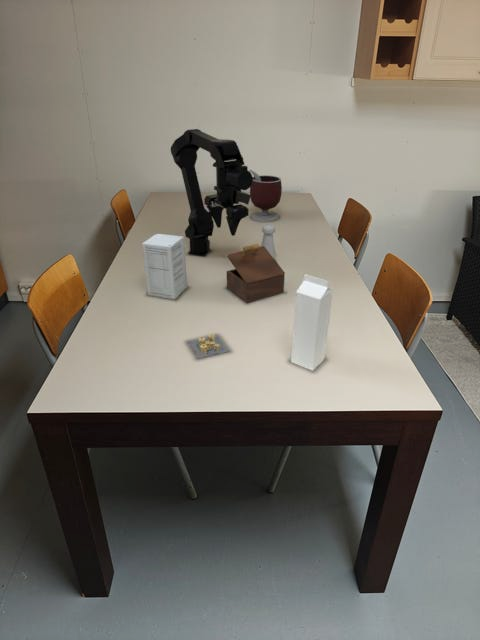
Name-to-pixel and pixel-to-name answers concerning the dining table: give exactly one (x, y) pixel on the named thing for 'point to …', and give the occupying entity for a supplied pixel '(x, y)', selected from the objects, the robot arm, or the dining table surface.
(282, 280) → the tea box
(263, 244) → the salt shaker
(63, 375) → the dining table surface
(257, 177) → the mate gourd
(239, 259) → the tea lid
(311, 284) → the milk
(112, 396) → the dining table surface
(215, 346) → the dice set
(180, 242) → the supplement box
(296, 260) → the dining table surface
